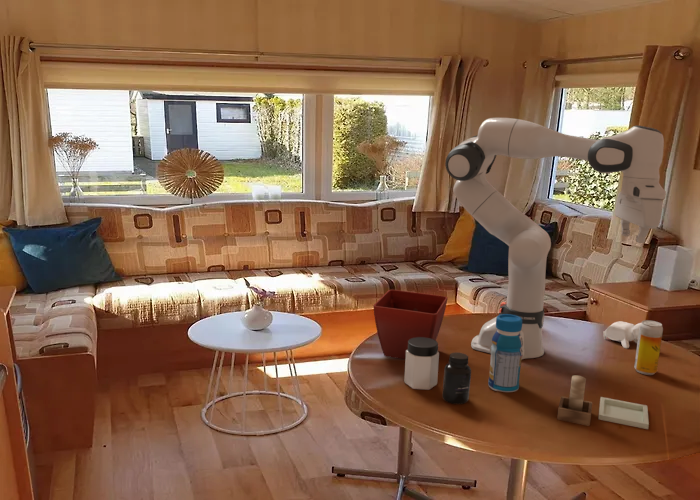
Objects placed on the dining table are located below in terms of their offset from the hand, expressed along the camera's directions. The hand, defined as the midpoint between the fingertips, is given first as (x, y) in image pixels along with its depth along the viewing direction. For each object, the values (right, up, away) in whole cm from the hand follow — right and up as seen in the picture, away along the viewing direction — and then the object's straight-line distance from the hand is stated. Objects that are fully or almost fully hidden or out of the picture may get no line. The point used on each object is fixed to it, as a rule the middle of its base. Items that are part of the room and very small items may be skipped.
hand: (632, 239), depth 168 cm
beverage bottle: (-35, -41, +1) cm, 53 cm away
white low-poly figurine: (+15, -34, +38) cm, 53 cm away
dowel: (-21, -44, -15) cm, 51 cm away
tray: (-9, -44, -14) cm, 47 cm away
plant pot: (-58, -35, +24) cm, 72 cm away
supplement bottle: (-49, -42, -7) cm, 65 cm away
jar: (-57, -40, +2) cm, 70 cm away
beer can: (+11, -39, +15) cm, 43 cm away
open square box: (-21, -44, -15) cm, 52 cm away
